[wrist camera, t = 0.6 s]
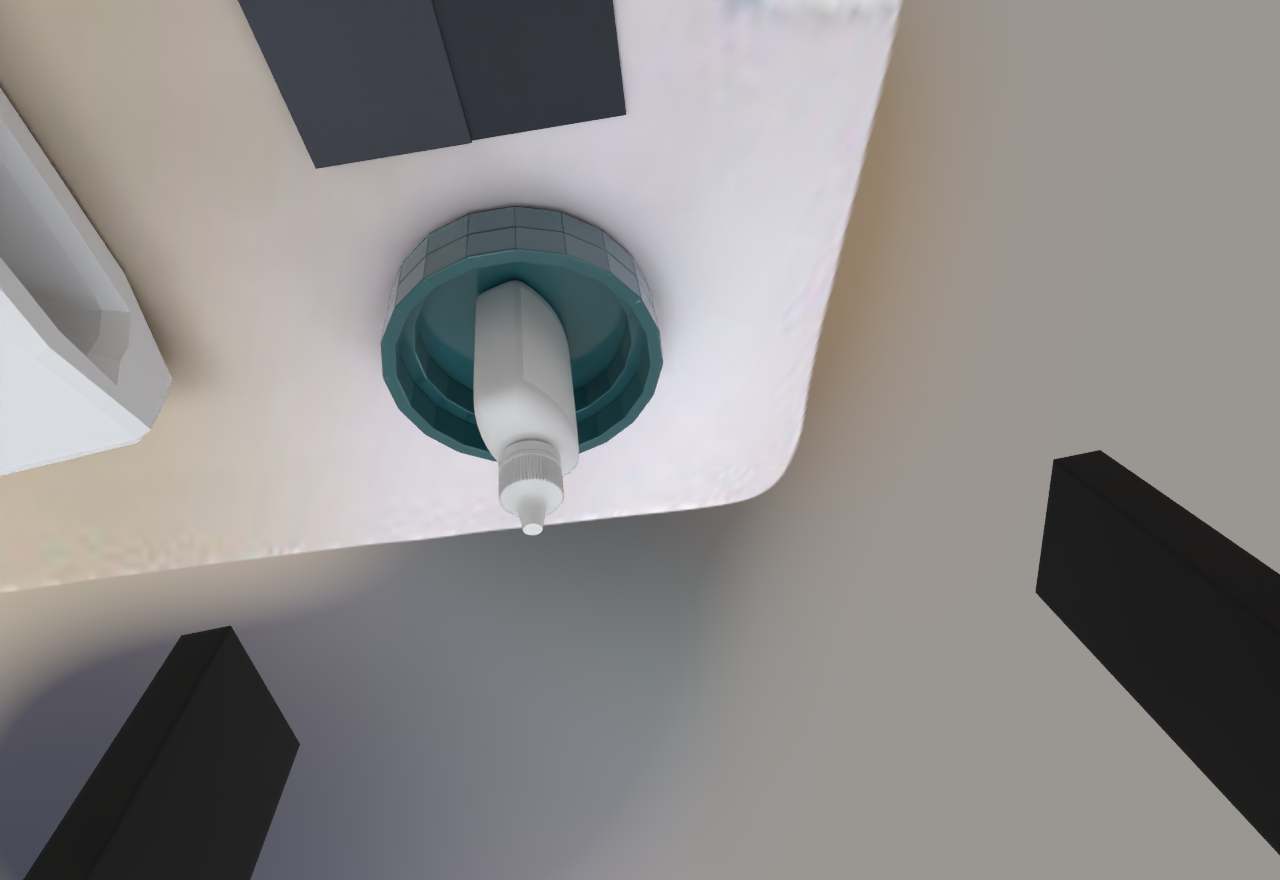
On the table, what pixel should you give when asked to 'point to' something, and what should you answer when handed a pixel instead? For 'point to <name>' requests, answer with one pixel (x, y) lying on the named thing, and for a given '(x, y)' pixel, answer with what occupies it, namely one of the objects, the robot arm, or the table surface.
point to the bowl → (566, 279)
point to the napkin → (435, 70)
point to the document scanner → (64, 322)
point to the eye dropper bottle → (525, 399)
